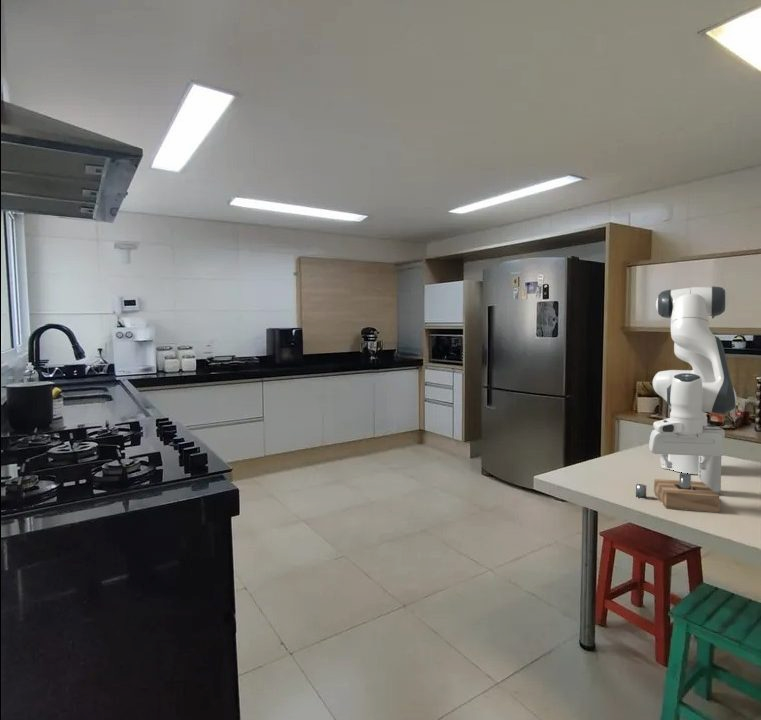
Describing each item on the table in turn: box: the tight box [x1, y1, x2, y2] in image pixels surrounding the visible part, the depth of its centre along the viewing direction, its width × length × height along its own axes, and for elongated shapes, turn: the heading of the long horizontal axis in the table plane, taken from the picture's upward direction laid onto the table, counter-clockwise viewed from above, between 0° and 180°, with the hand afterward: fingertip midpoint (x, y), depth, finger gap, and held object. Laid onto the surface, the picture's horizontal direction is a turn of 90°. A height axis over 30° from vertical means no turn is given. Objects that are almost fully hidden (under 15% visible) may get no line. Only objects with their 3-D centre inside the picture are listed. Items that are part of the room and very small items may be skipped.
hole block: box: [653, 478, 720, 513], centre depth 150 cm, size 14×14×5 cm
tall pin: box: [679, 472, 692, 490], centre depth 149 cm, size 3×3×9 cm
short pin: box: [635, 483, 647, 499], centre depth 155 cm, size 3×3×4 cm
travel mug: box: [697, 456, 722, 496], centre depth 158 cm, size 6×7×20 cm
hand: (685, 468), depth 150 cm, fingers open, 8 cm apart
